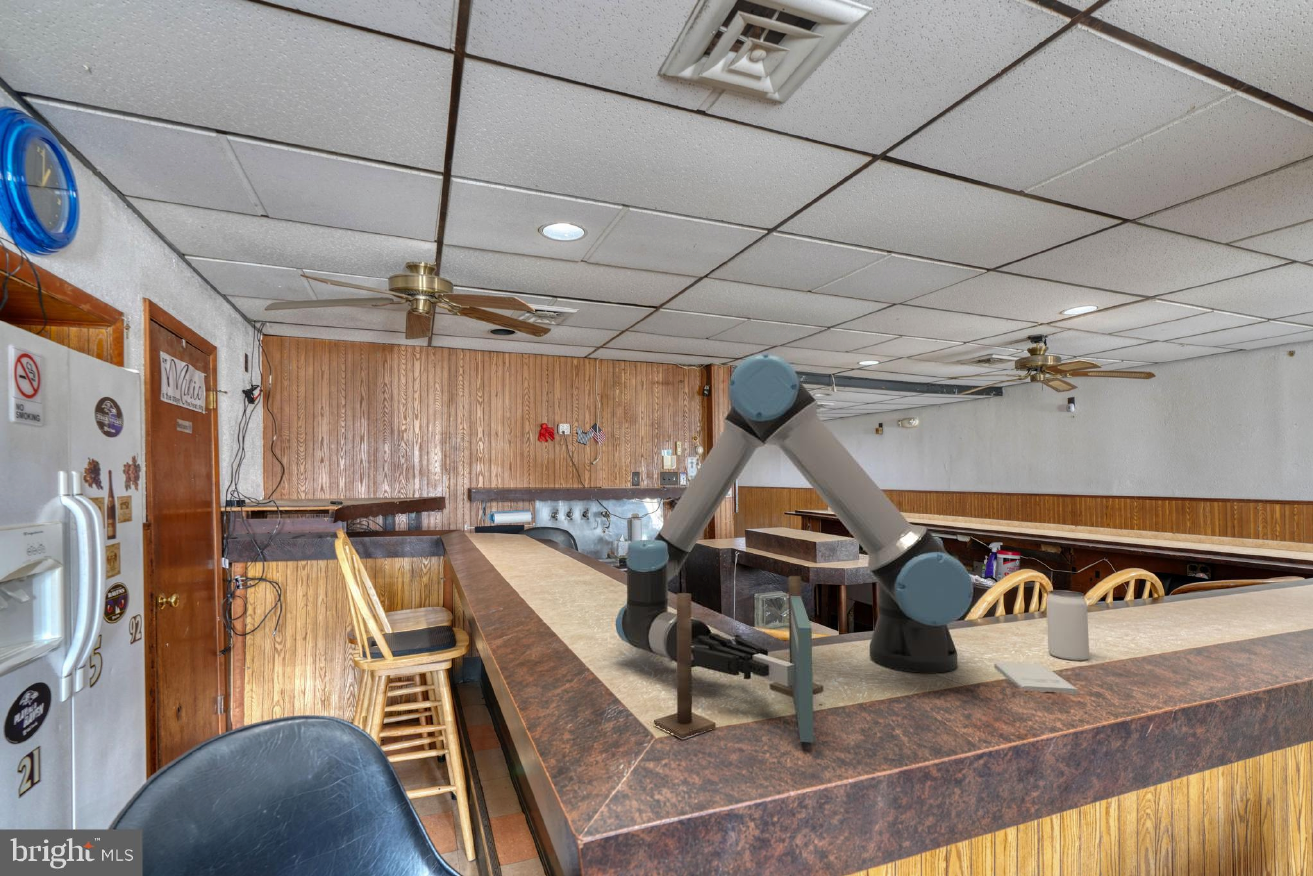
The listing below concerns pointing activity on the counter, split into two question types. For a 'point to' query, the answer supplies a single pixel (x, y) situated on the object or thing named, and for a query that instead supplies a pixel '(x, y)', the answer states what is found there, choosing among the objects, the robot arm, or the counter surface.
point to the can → (1067, 625)
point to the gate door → (802, 668)
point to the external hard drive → (1034, 677)
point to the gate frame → (685, 719)
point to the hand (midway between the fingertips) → (790, 675)
